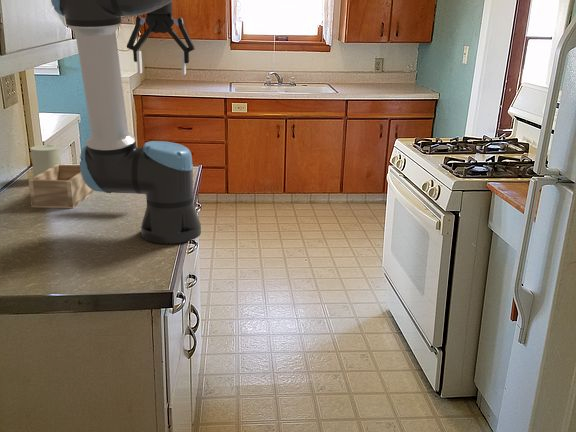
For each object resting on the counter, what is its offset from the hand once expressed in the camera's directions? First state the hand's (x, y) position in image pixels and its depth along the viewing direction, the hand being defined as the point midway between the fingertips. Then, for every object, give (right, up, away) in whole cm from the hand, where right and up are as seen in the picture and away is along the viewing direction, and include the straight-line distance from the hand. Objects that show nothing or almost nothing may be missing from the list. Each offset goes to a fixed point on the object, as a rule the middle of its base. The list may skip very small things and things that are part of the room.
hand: (162, 73), depth 171 cm
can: (-42, -32, +16) cm, 55 cm away
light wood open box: (-29, -38, -2) cm, 48 cm away
